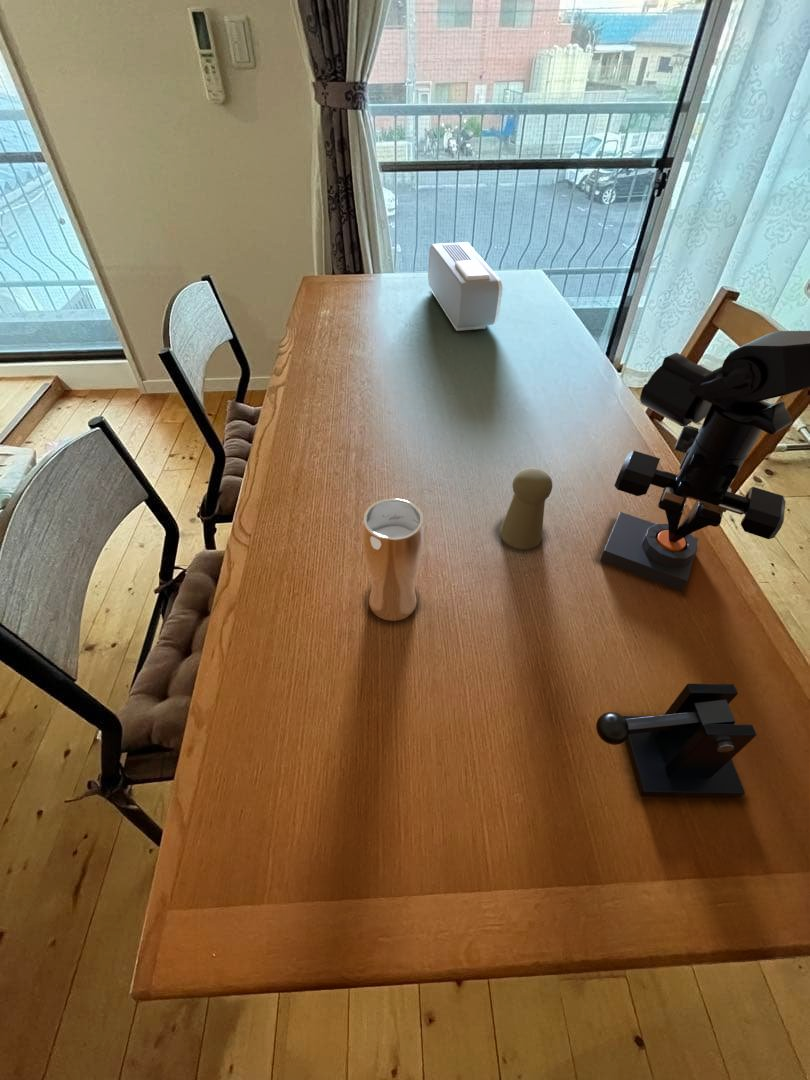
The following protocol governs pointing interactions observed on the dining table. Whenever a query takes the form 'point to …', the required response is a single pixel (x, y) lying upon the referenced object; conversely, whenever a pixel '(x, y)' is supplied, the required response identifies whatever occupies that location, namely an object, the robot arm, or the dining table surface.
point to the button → (670, 542)
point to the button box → (648, 552)
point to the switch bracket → (690, 751)
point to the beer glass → (393, 556)
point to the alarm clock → (464, 285)
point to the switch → (663, 721)
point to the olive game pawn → (526, 509)
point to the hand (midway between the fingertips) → (672, 539)
